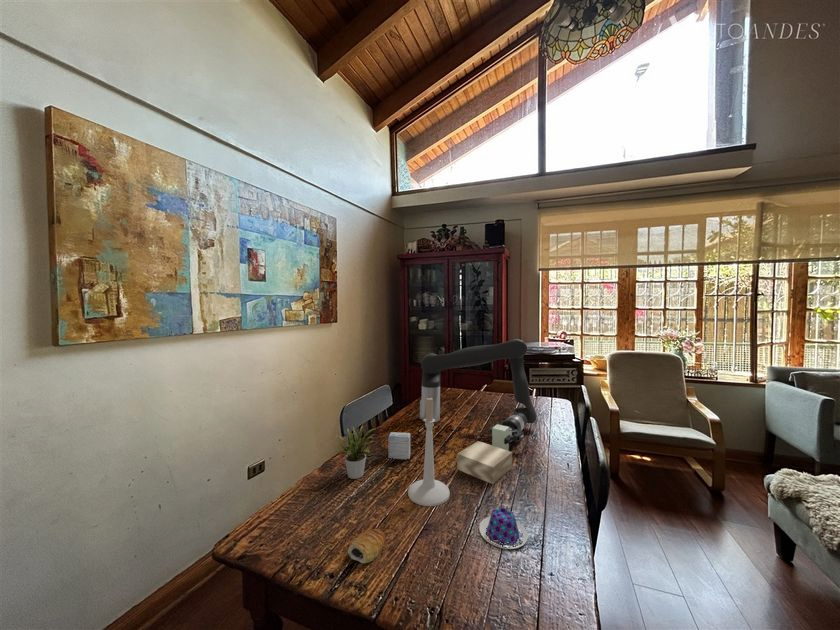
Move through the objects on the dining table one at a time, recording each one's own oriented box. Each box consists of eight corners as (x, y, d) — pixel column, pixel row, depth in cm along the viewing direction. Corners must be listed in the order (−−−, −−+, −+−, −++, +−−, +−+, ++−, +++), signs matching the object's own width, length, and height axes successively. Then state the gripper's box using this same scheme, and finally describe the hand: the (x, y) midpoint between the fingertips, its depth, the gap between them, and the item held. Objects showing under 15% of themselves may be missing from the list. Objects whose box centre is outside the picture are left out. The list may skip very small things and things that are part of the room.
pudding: (537, 546, 78) (538, 525, 78) (493, 556, 75) (493, 534, 74) (511, 515, 89) (511, 496, 89) (471, 522, 86) (471, 503, 86)
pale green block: (491, 453, 126) (492, 428, 125) (496, 448, 130) (497, 424, 129) (504, 456, 123) (504, 431, 122) (508, 451, 127) (509, 427, 126)
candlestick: (419, 511, 90) (420, 406, 89) (401, 487, 102) (401, 394, 100) (457, 498, 96) (458, 400, 95) (436, 478, 107) (436, 389, 106)
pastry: (370, 532, 82) (370, 517, 82) (392, 542, 79) (392, 527, 79) (345, 557, 74) (345, 541, 74) (368, 569, 71) (368, 553, 70)
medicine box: (410, 454, 124) (410, 432, 124) (409, 460, 120) (409, 437, 119) (390, 453, 125) (390, 431, 124) (388, 459, 120) (388, 436, 120)
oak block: (457, 470, 113) (457, 453, 113) (477, 456, 124) (478, 440, 124) (492, 485, 104) (493, 467, 104) (511, 468, 115) (512, 452, 114)
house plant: (388, 469, 112) (388, 424, 112) (365, 490, 100) (365, 439, 99) (354, 461, 118) (354, 417, 118) (329, 479, 106) (329, 431, 105)
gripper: (497, 414, 142) (481, 426, 128) (530, 421, 133) (516, 434, 119) (496, 430, 142) (480, 444, 128) (529, 438, 134) (516, 454, 120)
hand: (498, 439), depth 124 cm, fingers closed on pale green block, 5 cm apart
